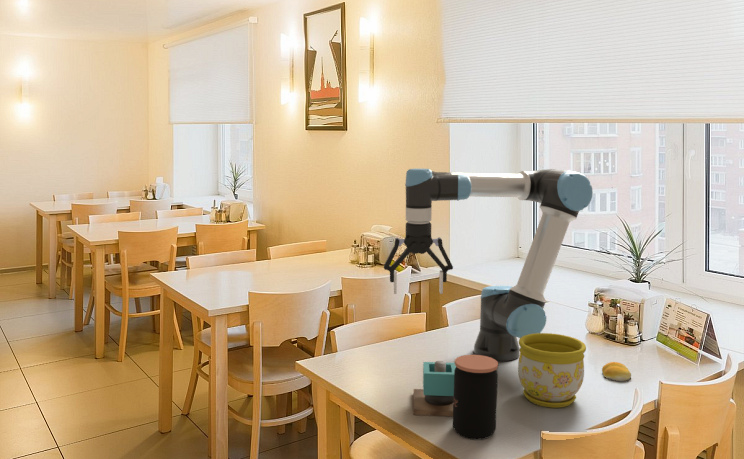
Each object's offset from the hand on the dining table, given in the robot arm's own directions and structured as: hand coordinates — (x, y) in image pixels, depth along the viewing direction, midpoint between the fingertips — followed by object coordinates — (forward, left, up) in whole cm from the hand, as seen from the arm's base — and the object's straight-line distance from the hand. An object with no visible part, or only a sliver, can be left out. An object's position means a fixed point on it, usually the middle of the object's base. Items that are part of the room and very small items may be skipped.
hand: (418, 292), depth 196 cm
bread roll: (-62, -8, -27) cm, 68 cm away
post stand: (-6, +19, -26) cm, 33 cm away
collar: (-6, +19, -22) cm, 30 cm away
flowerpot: (-37, +12, -27) cm, 47 cm away
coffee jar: (-14, +34, -27) cm, 46 cm away
